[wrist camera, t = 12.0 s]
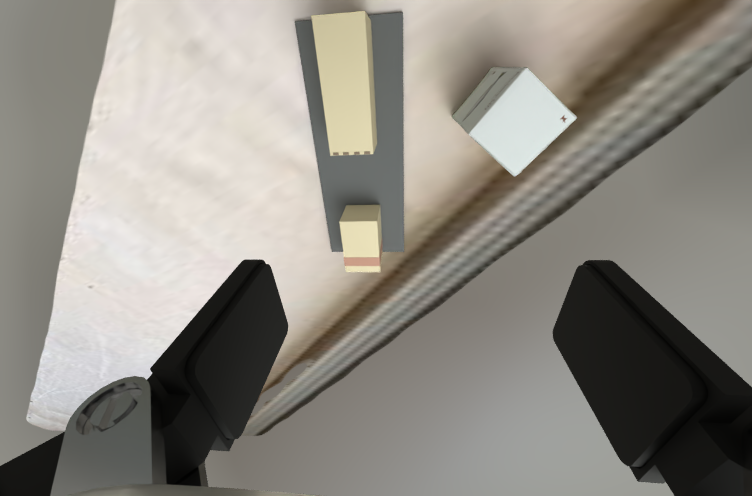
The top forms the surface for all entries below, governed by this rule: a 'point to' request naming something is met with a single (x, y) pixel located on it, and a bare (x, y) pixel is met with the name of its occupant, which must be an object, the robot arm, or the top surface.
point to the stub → (362, 238)
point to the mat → (385, 166)
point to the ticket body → (347, 81)
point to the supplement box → (513, 116)
